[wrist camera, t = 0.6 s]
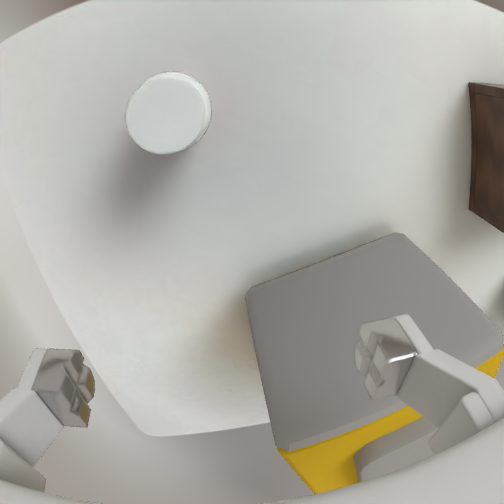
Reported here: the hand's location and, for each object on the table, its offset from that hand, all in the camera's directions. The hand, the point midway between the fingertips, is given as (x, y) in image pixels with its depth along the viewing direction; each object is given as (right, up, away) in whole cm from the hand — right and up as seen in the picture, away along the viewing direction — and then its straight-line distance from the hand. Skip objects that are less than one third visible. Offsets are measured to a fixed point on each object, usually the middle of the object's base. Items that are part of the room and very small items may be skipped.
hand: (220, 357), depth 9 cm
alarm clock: (+10, -4, +25) cm, 27 cm away
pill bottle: (-5, +14, +13) cm, 19 cm away
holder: (+30, +15, +17) cm, 38 cm away
